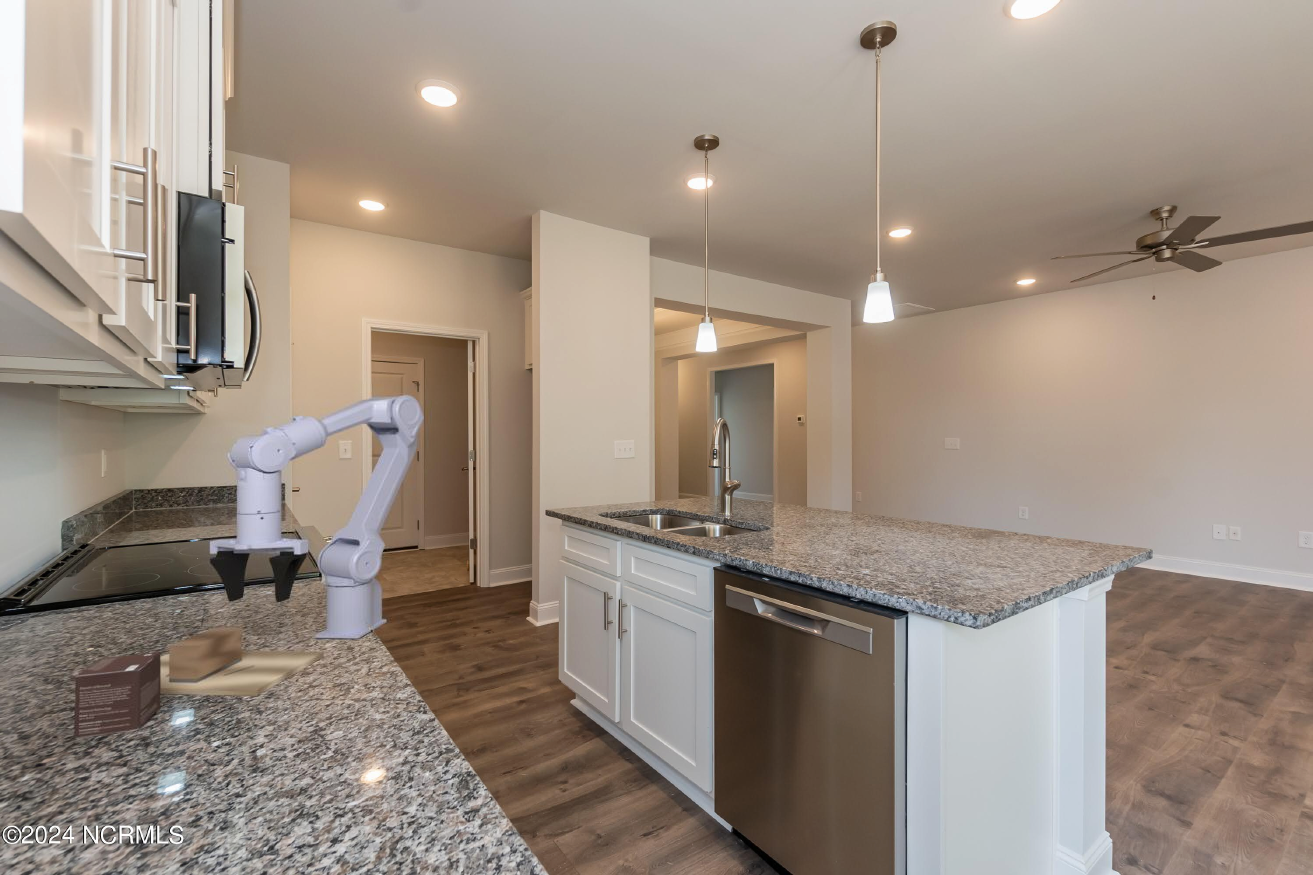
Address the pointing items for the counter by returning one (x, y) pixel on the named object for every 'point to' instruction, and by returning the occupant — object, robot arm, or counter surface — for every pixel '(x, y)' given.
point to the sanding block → (205, 654)
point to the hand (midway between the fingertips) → (259, 599)
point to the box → (117, 694)
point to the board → (243, 674)
